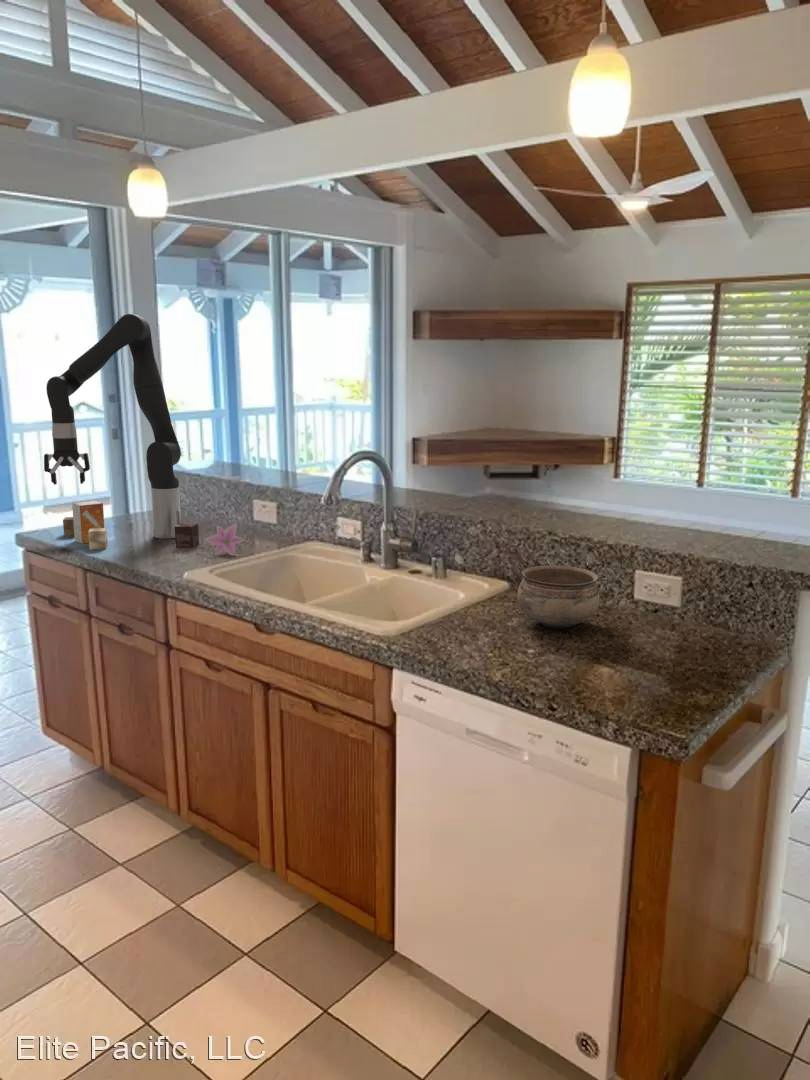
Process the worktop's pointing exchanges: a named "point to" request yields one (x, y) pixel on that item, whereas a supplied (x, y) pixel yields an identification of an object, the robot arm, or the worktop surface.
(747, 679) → the worktop surface
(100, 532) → the maple block
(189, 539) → the box
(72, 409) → the robot arm
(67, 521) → the walnut block
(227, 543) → the lily
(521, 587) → the cooking pot
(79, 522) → the small box
